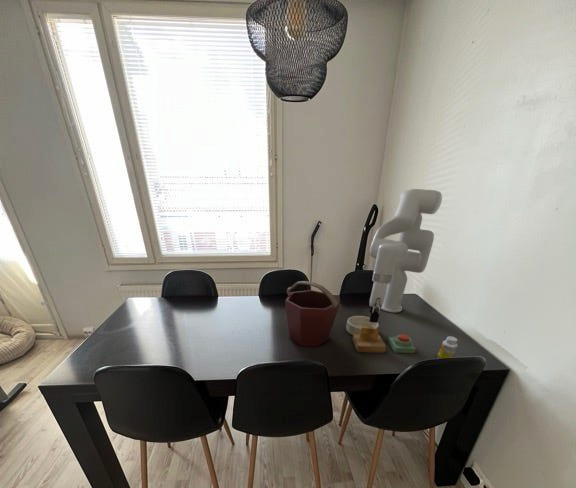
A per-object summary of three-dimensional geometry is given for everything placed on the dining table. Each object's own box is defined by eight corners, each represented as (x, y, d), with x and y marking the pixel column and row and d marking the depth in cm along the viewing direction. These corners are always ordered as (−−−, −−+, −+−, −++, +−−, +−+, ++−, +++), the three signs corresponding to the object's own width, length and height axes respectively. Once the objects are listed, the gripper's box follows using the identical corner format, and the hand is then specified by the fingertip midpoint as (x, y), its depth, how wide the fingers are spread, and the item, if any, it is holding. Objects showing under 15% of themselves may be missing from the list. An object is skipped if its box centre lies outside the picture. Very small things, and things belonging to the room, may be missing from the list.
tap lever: (359, 337, 131) (361, 327, 128) (359, 335, 132) (362, 325, 129) (376, 340, 130) (379, 329, 127) (376, 338, 131) (379, 327, 128)
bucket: (274, 332, 138) (275, 280, 124) (309, 321, 149) (314, 272, 135) (308, 355, 122) (313, 298, 108) (344, 341, 134) (354, 288, 120)
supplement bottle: (438, 354, 127) (447, 333, 121) (452, 359, 124) (461, 338, 119) (434, 359, 124) (443, 338, 118) (448, 364, 121) (457, 343, 115)
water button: (396, 337, 131) (397, 333, 130) (406, 337, 132) (407, 334, 131) (399, 342, 128) (400, 338, 127) (409, 342, 128) (410, 338, 127)
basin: (343, 324, 148) (345, 315, 146) (371, 325, 149) (374, 316, 146) (349, 338, 136) (350, 328, 133) (379, 339, 137) (382, 329, 134)
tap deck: (351, 337, 137) (352, 331, 136) (376, 337, 138) (378, 331, 136) (357, 352, 126) (358, 345, 125) (384, 352, 127) (386, 346, 125)
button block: (387, 341, 136) (389, 333, 133) (406, 341, 136) (409, 334, 134) (394, 352, 127) (396, 344, 125) (414, 352, 128) (417, 345, 125)
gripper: (372, 270, 123) (364, 308, 133) (372, 282, 109) (363, 324, 119) (391, 272, 122) (381, 311, 132) (393, 285, 108) (382, 327, 117)
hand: (373, 317), depth 125 cm, fingers open, 9 cm apart
